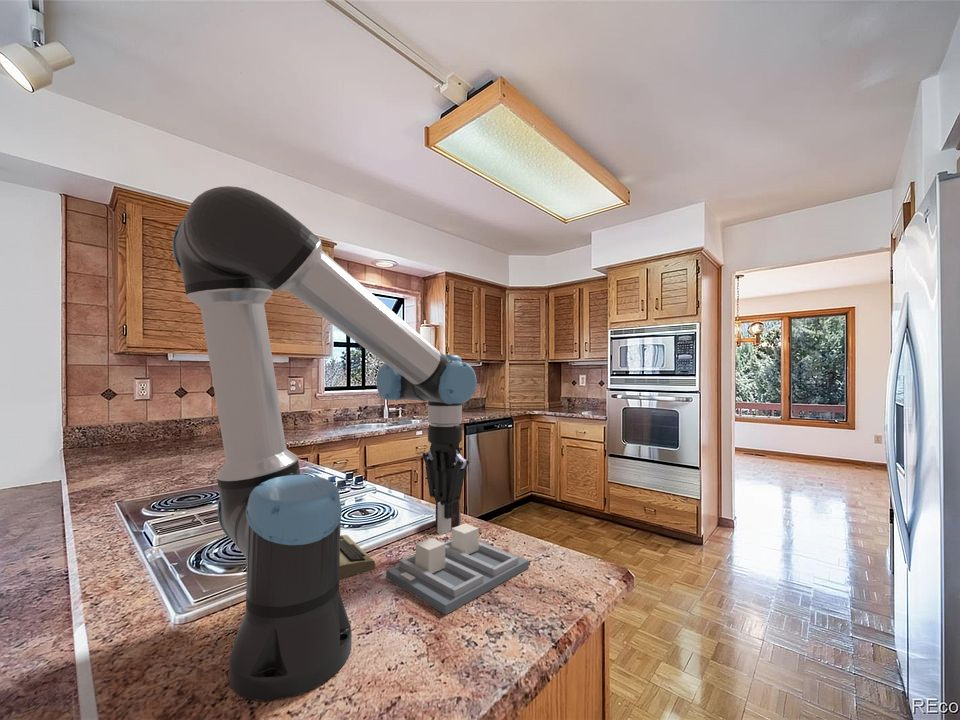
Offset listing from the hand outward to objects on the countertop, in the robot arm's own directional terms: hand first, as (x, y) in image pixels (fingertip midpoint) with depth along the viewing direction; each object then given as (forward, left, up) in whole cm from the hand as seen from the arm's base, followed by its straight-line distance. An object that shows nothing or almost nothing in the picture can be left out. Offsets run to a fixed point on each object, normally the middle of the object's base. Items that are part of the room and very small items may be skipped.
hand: (444, 531), depth 90 cm
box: (+11, +11, -4) cm, 16 cm away
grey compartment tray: (-5, -10, -4) cm, 12 cm away
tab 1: (-10, -7, -2) cm, 12 cm away
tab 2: (0, -6, -2) cm, 7 cm away
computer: (-18, +12, -5) cm, 22 cm away
